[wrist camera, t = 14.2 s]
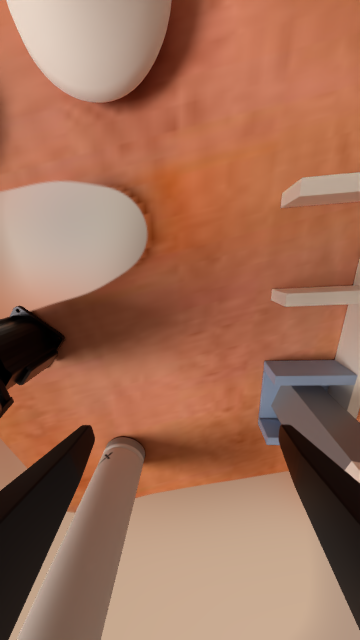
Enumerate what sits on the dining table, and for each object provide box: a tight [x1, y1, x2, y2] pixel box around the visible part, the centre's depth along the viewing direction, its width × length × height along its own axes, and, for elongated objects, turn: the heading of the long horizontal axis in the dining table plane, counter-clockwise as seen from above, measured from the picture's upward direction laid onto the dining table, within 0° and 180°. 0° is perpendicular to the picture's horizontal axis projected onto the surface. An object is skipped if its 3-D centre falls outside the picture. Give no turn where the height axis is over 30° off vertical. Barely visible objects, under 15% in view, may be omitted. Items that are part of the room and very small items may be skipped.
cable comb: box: [258, 172, 360, 445], centre depth 18 cm, size 27×9×3 cm, turn 3°
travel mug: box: [16, 437, 145, 640], centre depth 18 cm, size 6×7×20 cm
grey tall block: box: [271, 385, 360, 483], centre depth 16 cm, size 4×4×12 cm
